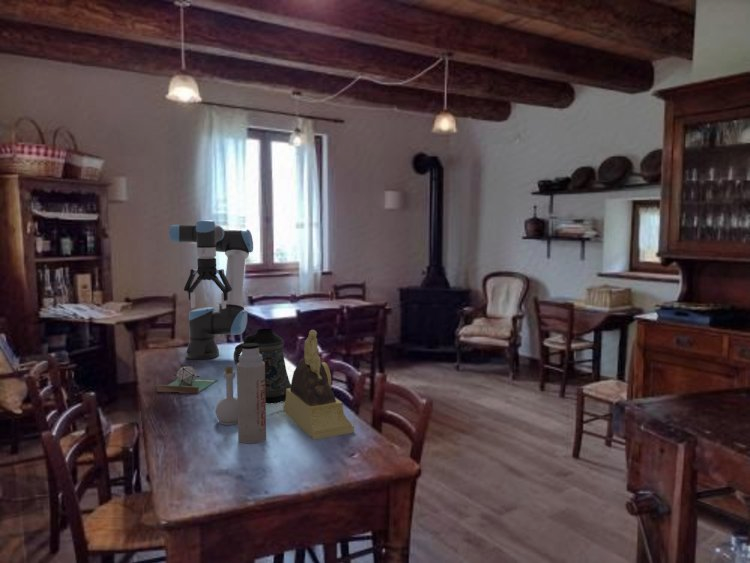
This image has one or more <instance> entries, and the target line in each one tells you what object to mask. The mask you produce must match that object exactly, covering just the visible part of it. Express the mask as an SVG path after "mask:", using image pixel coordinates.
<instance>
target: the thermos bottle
mask: <svg viewBox="0 0 750 563" xmlns="http://www.w3.org/2000/svg"><path fill="white" fill-rule="evenodd" d="M241 347H242V352H241V354H240V356H239V358H238V359H239V363H237V366H236V385H237V386H236V389H237V390H236V393H237V394H236V395H237V396H236V398H237V404H238V423H237V434H238V435H237V436H238V437H237V439H238V441H239V442H240V443H243V444H257V443H261V442H264V441H265V440H266V438H267V409H266V408H267V404H266V397H265V363H264V362H263V361H262V359H263V358H262V355H261V354H260V353H259V348H258V347H259V344H257V343H246V344H242V345H241Z"/></svg>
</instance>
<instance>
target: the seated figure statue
mask: <svg viewBox="0 0 750 563" xmlns="http://www.w3.org/2000/svg"><path fill="white" fill-rule="evenodd" d="M317 334H318V332H317V331H316V330H315V329H311V330H309V332H308V335H307V336H308V337H307V338H306V339H305V342H304V348H303V351H304V357H303V358H302V359H300V360H299V361H298V363H297V366H296V367H295V369H294V371H293V374H292V378H291V381H290V384H291V388H288V389H286V400H285V401H284V405H283V413H284V412H285V413H286V414H285V413H284V414H285V415H286V416H288V417H289V418H290V419H291V420H292V421H293V422H294V423H295V424H296V425H297V426H298V427H299V428H300V429H302V430H303V431H304V432H305V433H306V434H307V435H308V436H309V437H310V438H311V439H312V440H314V441H316V440H319V439H325V438H330V437H337V436H342V435H347V434H352V433H353V434H354V433H355V427H354V425H353V423H351V422H350V421H349V419H348V418H347V417H346V415H345V413H344V407H343V402H342V401H341V400H339V399H338V398H337V397H335V393H334V391H333V390H332V374H331V370H330V368H329V365H328V364H327V363H326V362H325V361H321V360H322V359H321V357H320V355H319V354H318V348H319V347H318V346H319V345H318V338H317Z"/></svg>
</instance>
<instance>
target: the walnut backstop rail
mask: <svg viewBox="0 0 750 563" xmlns="http://www.w3.org/2000/svg"><path fill="white" fill-rule="evenodd" d="M156 392H157V393H171V392H179V393H178V394H194V393H195V395H196V394H197V395H198V394H200V392H199V386H176V385H169V384H158V385H156Z"/></svg>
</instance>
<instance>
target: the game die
mask: <svg viewBox="0 0 750 563" xmlns="http://www.w3.org/2000/svg"><path fill="white" fill-rule="evenodd" d="M194 367H195V365H194V364H193V365H192V366H183V364H180V368H179V370H178V371H177V372H176V373H175V374H174V373H173V376H175V378H176V380H178V382H179V384H180V385H191V386H192V383H193V382H194V381H195V379H198V378H200V376H199V375H197V372H196V370H195V368H194ZM180 385H179V386H180Z"/></svg>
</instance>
